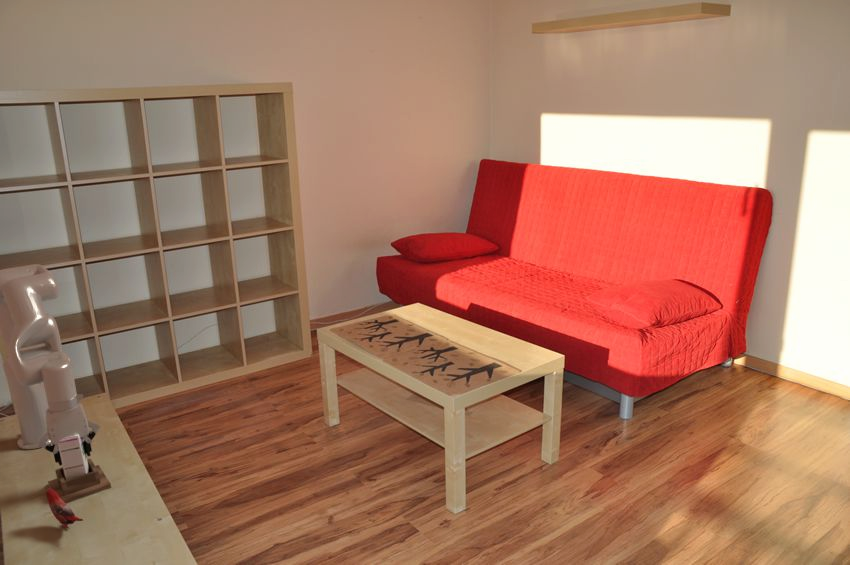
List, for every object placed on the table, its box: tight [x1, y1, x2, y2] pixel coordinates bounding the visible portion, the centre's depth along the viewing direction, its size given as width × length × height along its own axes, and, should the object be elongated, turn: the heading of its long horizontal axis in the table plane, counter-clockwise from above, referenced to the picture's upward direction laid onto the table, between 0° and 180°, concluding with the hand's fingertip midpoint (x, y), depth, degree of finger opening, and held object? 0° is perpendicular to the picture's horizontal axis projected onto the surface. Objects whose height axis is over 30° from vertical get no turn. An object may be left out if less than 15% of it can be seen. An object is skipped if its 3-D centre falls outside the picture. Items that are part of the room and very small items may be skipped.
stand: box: [47, 458, 112, 504], centre depth 199 cm, size 14×14×5 cm
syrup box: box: [58, 434, 89, 480], centre depth 197 cm, size 6×6×14 cm
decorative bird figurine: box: [45, 488, 84, 530], centre depth 178 cm, size 3×18×10 cm, turn 55°
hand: (74, 458), depth 197 cm, fingers closed on syrup box, 6 cm apart
